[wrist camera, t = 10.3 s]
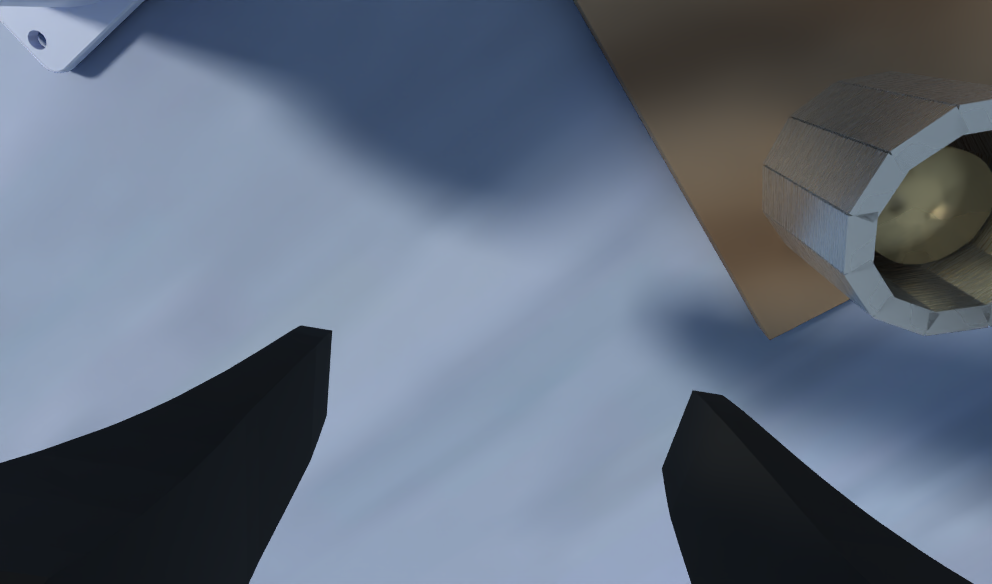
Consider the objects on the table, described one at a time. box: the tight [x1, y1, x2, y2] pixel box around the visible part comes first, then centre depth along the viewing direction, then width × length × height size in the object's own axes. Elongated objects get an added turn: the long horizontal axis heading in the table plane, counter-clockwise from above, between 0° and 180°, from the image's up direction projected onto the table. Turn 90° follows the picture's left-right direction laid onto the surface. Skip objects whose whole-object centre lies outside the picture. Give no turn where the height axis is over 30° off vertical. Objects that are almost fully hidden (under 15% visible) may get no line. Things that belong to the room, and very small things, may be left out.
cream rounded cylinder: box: [875, 146, 992, 264], centre depth 16 cm, size 3×3×4 cm
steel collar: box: [762, 71, 992, 336], centre depth 15 cm, size 6×6×5 cm
